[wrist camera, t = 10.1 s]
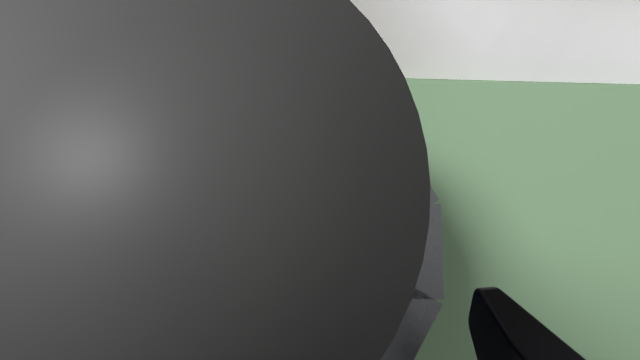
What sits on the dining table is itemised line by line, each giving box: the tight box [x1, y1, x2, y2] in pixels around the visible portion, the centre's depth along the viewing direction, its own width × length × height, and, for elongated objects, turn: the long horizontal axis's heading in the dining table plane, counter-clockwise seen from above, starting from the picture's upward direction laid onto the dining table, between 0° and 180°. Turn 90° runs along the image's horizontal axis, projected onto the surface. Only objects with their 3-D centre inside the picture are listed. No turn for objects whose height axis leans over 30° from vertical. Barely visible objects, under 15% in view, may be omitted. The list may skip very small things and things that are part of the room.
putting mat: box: [405, 78, 640, 360], centre depth 18 cm, size 16×34×1 cm, turn 89°
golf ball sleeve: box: [0, 0, 431, 360], centre depth 11 cm, size 5×5×13 cm
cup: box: [381, 187, 444, 360], centre depth 16 cm, size 11×11×4 cm
